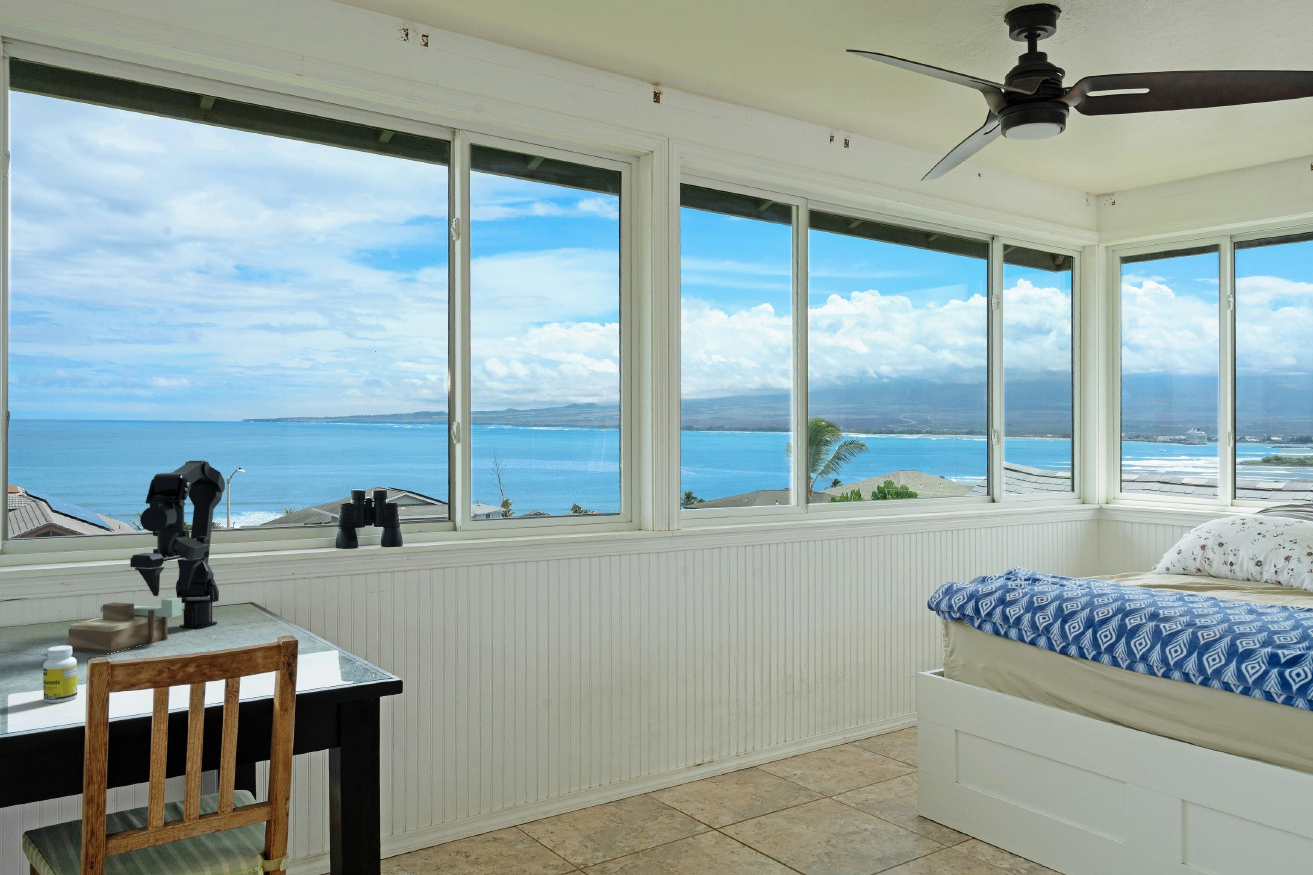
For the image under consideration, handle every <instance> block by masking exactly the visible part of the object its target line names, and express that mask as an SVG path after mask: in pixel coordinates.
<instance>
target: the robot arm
mask: <svg viewBox="0 0 1313 875" xmlns="http://www.w3.org/2000/svg"><path fill="white" fill-rule="evenodd" d="M225 483H226V481H225V478H224V477H223V475H222V473H221V471H219V470H217V469H215V468H214V467H213V466H211V465H210V463H209V462H208V461H206V460H189V461H186V462H185V464H183V465H182V466H180V467H178V468H177V469H175V470H173V471H172V472H162V473H161V472H160V473H156V474H155V475H154V476H153V478H152V479H151V480H150V484H149V487H148V492H147V496H146V499H145V504H147V505H149V507H146V508H145V509H144V510H143V511H142V513H141V516H140V518H139V519H140V520H139V521H140V523H141V524H140V525H141V526H142V527H143V528H144V529H145V530H146V531H148V532H152V536H153V537H156V548H153V549H152V553H151V552H142V553H137V554H132V556H131V557H130V559H129V560H130V561H129V563H130V565H129V566H130V568H134V570H135V571H138V573H139V574H140V575H141V577H142V579H143V580H144V582H145V583H146V585H147V587H148V588H149V591H150V592H151V594H152V595H153V597H158V596H159V594H160V586H161V585H160V581H161V580H160V579H161V573H162V571H163V570H164V569H165V567H164V566H163V564H164V562H168V561H173V560H177V565H178V579H177V581H176V583H175V592H176V593H175V594H176V598H182V604H183V607H184V608H183V623H181V624H179V625H178V626H179V628H188V629H203V628H206V627H207V628H208V627H211V626H213V625H216V624H218V621H214V620H213V603H216V602H219V601H220V600H219V598H220V590H219V588H218V585H217V584H216V580H215V579H214V578H215V577H214V576H215V573H214V572H213V571H212V568H211V567H210V565H209V557H210V548H211V537H212V530H213V527H212V526H213V518H214V509H215V508H216V507H217V506H218V504H219V503H220V502H221V501H222V498H223V493H224V491H225V488H226V484H225ZM188 498H189V501H191V504H192V505H193V513H192V514H193V515H192V521H191V532H189V529H185V506H186V502H185V501H187V499H188Z"/></svg>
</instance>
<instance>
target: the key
mask: <svg viewBox="0 0 1313 875" xmlns="http://www.w3.org/2000/svg"><path fill="white" fill-rule="evenodd" d="M160 603H161V606H148V605H135V604H134V615H145V616H148V610H154V616H159V617H167V618H175V617H180V616H182V614H183V613H182V609H183V608H182V606H183V605H182V604H183V603H182V598H177V597H168V598H167V597H166V598H164V599H161V602H160ZM99 607H100V608H99V610H100V611H99V612H100V613H103V605H100V606H99Z"/></svg>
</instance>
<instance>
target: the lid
mask: <svg viewBox="0 0 1313 875" xmlns="http://www.w3.org/2000/svg"><path fill="white" fill-rule="evenodd" d="M134 605H135V603H130V602H129V603H127V602H116V601H115V602H113V601H112V602H108V603H105V604H102V606H103V612H102V616H100V617H96V618H92V619H87V620H83V621H79V622H76V623H71V624H70V625H69V629H78V630H91V631H104V632H113V631H117V630H120V629H124V628H128V627H132V626H136V625H140V624H143V623H147V622H148V616H145V615H134ZM159 619H162V617H159V616H154V621H155V620H159Z"/></svg>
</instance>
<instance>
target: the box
mask: <svg viewBox="0 0 1313 875" xmlns="http://www.w3.org/2000/svg"><path fill="white" fill-rule="evenodd" d="M168 635H169V634H168V617H162V619H159V620H155V621H154V610H148V622H147V623H143V624H140V625H136V626H132V627H128V628H124V629H120V630H117V631H113V632H104V631H91V630H78V629H70V628H68V646H72V652H76V651H80V652H79V653H88V652H94V653H93V654H100V653H109V654H108V655H112V654H111V653H114V652H117V651H121V652H123V651H122V650H125V649H128V648H132V649H134V648H133V647H135V648H137V647H136V646H139V645H142V646H145V645H144V644H146V645H149V644H148V643H154V644H155V642H154V641H156V642H158V640H160V641H162V640H161V639H168V637H169V636H168ZM168 640H169V639H168ZM139 647H140V646H139ZM128 650H129V649H128ZM125 651H126V650H125Z"/></svg>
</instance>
